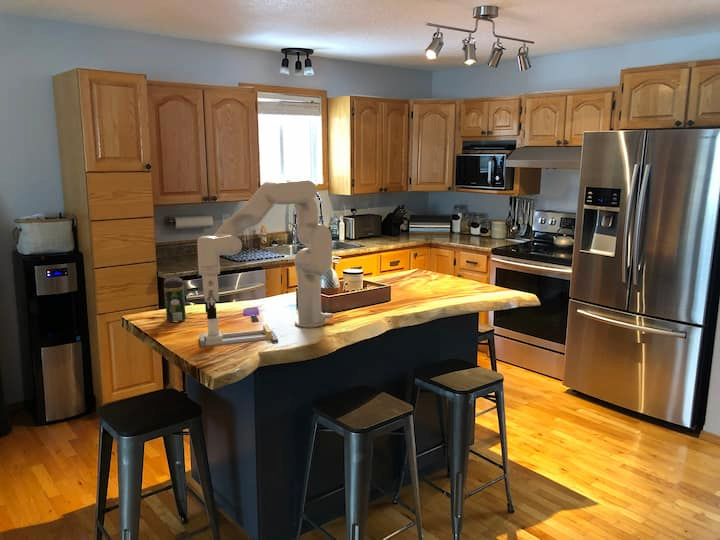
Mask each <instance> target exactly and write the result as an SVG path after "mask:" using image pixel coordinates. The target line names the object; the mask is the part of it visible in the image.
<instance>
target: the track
mask: <svg viewBox="0 0 720 540" xmlns="http://www.w3.org/2000/svg"><path fill="white" fill-rule="evenodd" d="M198 334H199V338H198V339H199V343H200V344H199V345H200V348H208V347H209V348H211V347H218V346H219V347H220V346H226V345H227V346H228V345H238V344H246V343H255V342H257V343H258V342H265V341H270V343H271V344H275V342H276V343H279V339H278V337H277V335H276V334H275V332H274V330H271V329H270V327H269V325H268V324H262V329H255V330H246V331H236V332H235V331H234V332H227V333H226V332H224V333H222V336H223V340H217V341H207V342H206V340H205V333H204V332H201V333H198Z"/></svg>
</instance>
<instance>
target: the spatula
mask: <svg viewBox="0 0 720 540" xmlns="http://www.w3.org/2000/svg"><path fill="white" fill-rule="evenodd" d="M242 312H243V315H244V317H251V320H252V323H259V322H260V321H259V318H258V316H260V311H259V308H258V307H257V306H256V307H255V306H253V307H246V308H244V309H243V310H242Z"/></svg>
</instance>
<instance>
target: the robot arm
mask: <svg viewBox="0 0 720 540" xmlns="http://www.w3.org/2000/svg"><path fill="white" fill-rule="evenodd" d="M317 191H318V189H317V185H316V184H315V183H314V182H313V181H311V180H308V179H299V178H298V179H297V178H295V179H293V178H291V179H288V180H286V181H274V180H273V181H272V180H271V181H265V182H263V183H262V184H261V185H260V186H259V188H258V189H257V190H256V191H255V193H254V194H253V195H252V196H251V197H250V199H248V201H247V202H246V204H245V205H243V207H242V208H241V209H240V210H237V212H235V213H234V214H233V215H231V216H230V217H228V218H227V219H226V221H224V222H223V223H222V224H221V225H220V226H219V228H217V230H216V231H215V233H214V234H213V235H202V236H199V237H198V238H197V240H196V241H197V243H196V244H197V266H198V275H199V276H201V278H202V279H201V280H202V291H203V298H204V303H205V313H206V315H207V316H206V320H207V319H216V315H217V307H216V302H218V303H219V301H220V296H219V281H218V279H219V278H218V275H220V274H221V265H220V263H221V261H220V256H235V255H238V254H239V253H240V252H241V251H242V248H243V242H242V240H241V239H240V238H239V237H238V236H239V235H240V234H241V233H242V232H244V231H245V230H247V229H249V228H251V227H252V228H253V227H254V226H257V225H259V224H260V223H261V222H262V221H263V220H264V219H265V217H266V216H267V215H268V213H269V212H270V211H271V210H272V209H273V208H274V207H275V205H283V206H284V205H294V208H295V210H296V223H297V224H296V225H297V226H296V227H297V228H296V231H297V233H296V234H297V236H296V237H297V239H298V242H299V243H300V244H302V245H303V246H307V247H308V246H309V247H310V248H307V247H305V248H302V249H299V250H298V251H296V252H297V253H296V254H295V256H294V267H295V272H296V280H297V281H296V283H297V311H298V313H297V314H298V317H297V318H298V319H296V320H294V325H295V326H297V327H299V328H305V329H307V328H308V329H311V328H319V327H323V326H324V325H325V324H326V319H333V318H334V315H333V313H328V312H325V313H324V312H322V292H321V291H322V289H321V288H322V287H321V286H322V285H321V277H320V276H324V275H326V274H328V272H329V271H330V269H331V267H332V263H333V250H332V249H333V248H332V247H333V244H332V243H333V241H332V240H333V238H332V237H333V236H332V233H331V231H330V230H331V229H329V227H328V226H327V225H326V224H323V223H319V222H320V221H319V210H318V205H317V201H316V200H315V198H316V197H317ZM318 326H319V327H318Z"/></svg>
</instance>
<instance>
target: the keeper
mask: <svg viewBox="0 0 720 540" xmlns="http://www.w3.org/2000/svg"><path fill="white" fill-rule="evenodd" d="M206 321H207V322H206V325H207V332H204V335H205V340H206V342H207V341H217V340H223V336H222V334H223V333H222V331H221V330H219V329H220V328H219V327H220V326H219V325H220V324H219V314H216V319H207V318H206Z"/></svg>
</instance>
